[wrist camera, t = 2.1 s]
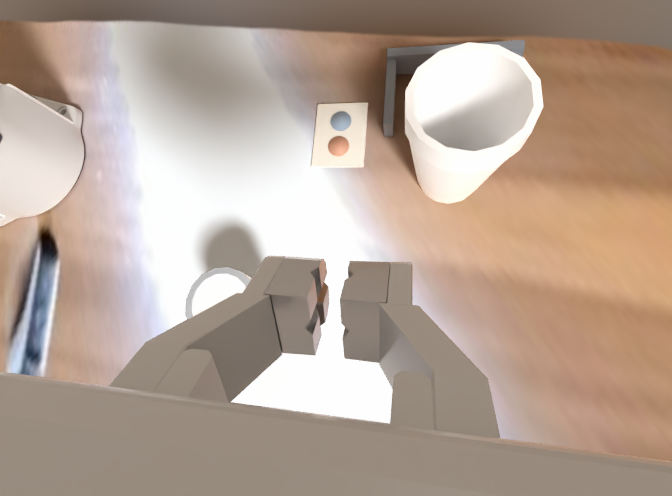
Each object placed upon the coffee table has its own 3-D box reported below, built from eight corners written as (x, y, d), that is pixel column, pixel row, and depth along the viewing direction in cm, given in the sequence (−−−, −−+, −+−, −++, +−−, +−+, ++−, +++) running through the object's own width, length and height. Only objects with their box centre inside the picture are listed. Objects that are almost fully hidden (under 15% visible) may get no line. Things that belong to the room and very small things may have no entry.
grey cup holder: (517, 134, 37) (527, 117, 34) (384, 136, 40) (383, 121, 37) (515, 61, 39) (524, 39, 36) (388, 67, 42) (387, 48, 39)
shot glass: (242, 355, 37) (208, 360, 30) (210, 303, 39) (171, 297, 32) (294, 315, 37) (270, 311, 30) (259, 265, 39) (230, 251, 32)
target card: (363, 167, 40) (363, 165, 39) (311, 167, 41) (310, 165, 40) (368, 104, 41) (367, 101, 41) (318, 105, 42) (317, 103, 42)
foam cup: (441, 235, 36) (463, 184, 24) (385, 172, 39) (378, 97, 26) (514, 178, 36) (574, 99, 24) (453, 119, 39) (478, 20, 26)
